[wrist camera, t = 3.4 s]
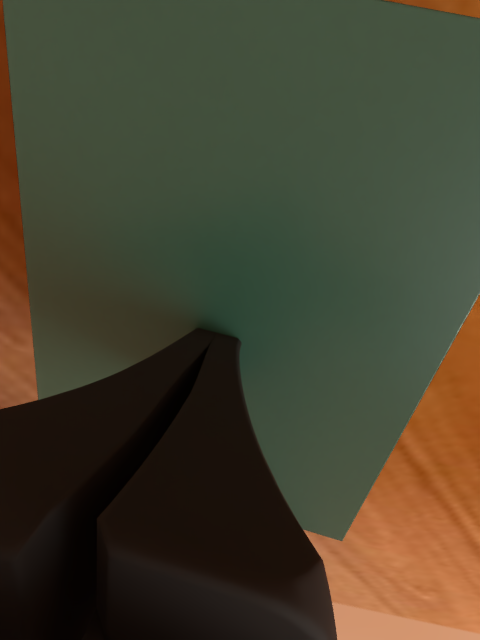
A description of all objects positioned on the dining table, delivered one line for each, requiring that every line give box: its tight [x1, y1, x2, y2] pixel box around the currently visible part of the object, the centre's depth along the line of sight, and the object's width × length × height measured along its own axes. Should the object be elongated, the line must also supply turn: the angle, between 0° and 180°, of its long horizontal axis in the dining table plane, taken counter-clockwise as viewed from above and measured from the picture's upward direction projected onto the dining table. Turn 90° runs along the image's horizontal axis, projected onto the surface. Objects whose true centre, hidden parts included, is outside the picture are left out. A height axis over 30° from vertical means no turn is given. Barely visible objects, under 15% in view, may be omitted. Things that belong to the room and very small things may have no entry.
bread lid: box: [3, 0, 480, 541], centre depth 10 cm, size 14×12×1 cm
